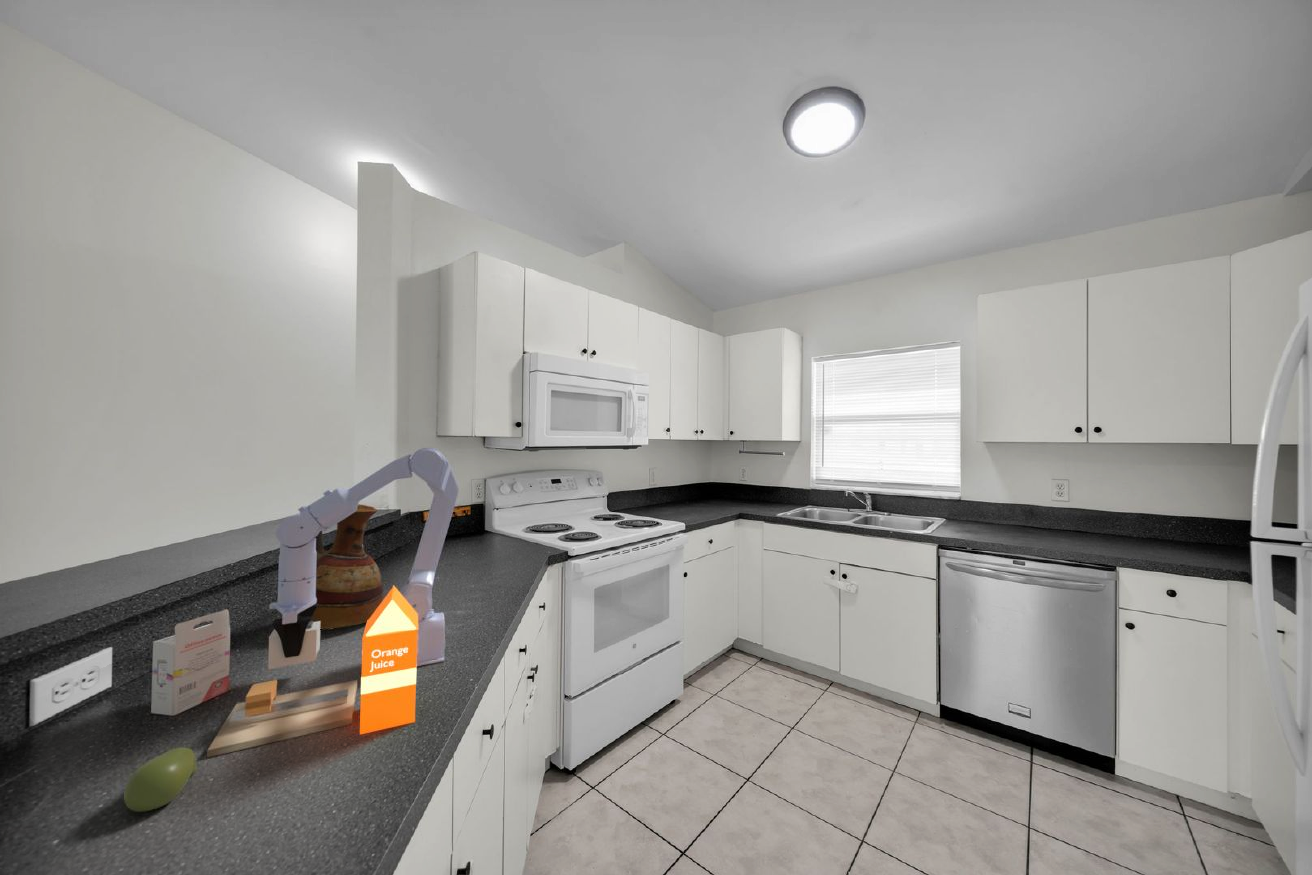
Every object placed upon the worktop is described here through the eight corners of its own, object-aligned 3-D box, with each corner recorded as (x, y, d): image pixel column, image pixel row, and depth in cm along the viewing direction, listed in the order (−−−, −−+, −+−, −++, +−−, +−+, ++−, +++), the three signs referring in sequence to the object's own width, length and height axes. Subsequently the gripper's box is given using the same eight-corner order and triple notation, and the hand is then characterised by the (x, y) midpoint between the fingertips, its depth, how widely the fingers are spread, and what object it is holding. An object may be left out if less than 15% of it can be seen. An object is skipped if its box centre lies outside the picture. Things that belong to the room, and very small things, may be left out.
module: (319, 650, 92) (320, 617, 92) (315, 660, 87) (316, 626, 88) (274, 658, 89) (275, 624, 89) (268, 669, 84) (269, 633, 84)
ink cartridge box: (207, 688, 85) (211, 606, 85) (229, 691, 84) (232, 608, 84) (148, 713, 76) (152, 622, 77) (171, 717, 75) (175, 624, 76)
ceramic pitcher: (350, 640, 107) (354, 508, 108) (263, 639, 107) (268, 508, 108) (398, 611, 126) (401, 500, 128) (325, 610, 127) (328, 499, 128)
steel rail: (348, 694, 81) (348, 688, 81) (347, 702, 78) (347, 696, 78) (234, 718, 73) (234, 711, 73) (228, 728, 71) (229, 721, 71)
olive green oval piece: (116, 776, 54) (153, 744, 62) (110, 828, 53) (149, 788, 61) (182, 760, 56) (209, 732, 65) (178, 809, 56) (206, 774, 64)
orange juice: (358, 734, 71) (362, 602, 72) (364, 706, 79) (367, 587, 80) (416, 721, 75) (419, 595, 75) (416, 696, 82) (419, 581, 83)
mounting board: (357, 685, 86) (357, 680, 86) (351, 723, 74) (351, 717, 74) (236, 709, 78) (236, 703, 78) (207, 757, 66) (207, 750, 66)
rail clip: (276, 698, 77) (277, 679, 77) (270, 711, 73) (270, 692, 73) (252, 703, 75) (253, 684, 75) (245, 716, 71) (245, 696, 71)
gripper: (278, 571, 93) (276, 640, 92) (261, 590, 80) (258, 670, 80) (322, 567, 96) (320, 634, 96) (311, 584, 84) (309, 661, 83)
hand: (295, 650), depth 88 cm, fingers closed on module, 5 cm apart
